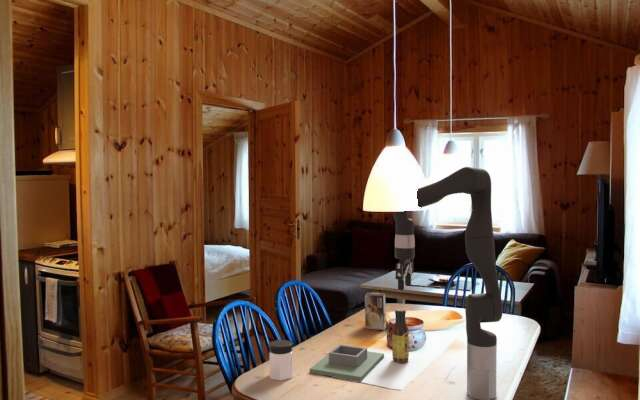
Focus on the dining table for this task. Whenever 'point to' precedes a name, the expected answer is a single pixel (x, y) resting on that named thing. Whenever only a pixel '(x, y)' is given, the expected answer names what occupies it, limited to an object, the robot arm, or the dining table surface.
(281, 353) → the jar
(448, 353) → the dining table surface
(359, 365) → the deck plate
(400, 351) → the sauce bottle
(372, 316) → the coffee box
